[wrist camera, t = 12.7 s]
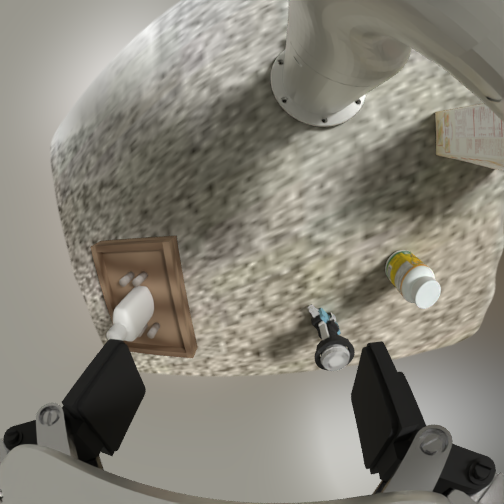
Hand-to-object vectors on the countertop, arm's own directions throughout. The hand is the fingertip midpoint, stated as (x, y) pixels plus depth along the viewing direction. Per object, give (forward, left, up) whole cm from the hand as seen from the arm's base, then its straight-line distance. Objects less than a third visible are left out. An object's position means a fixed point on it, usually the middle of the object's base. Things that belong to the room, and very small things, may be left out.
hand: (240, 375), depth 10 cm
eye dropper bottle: (+12, -20, -27) cm, 35 cm away
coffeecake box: (-12, +33, -28) cm, 45 cm away
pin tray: (+12, -20, -28) cm, 37 cm away
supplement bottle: (+8, +20, -28) cm, 36 cm away
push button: (+16, +8, -28) cm, 34 cm away
